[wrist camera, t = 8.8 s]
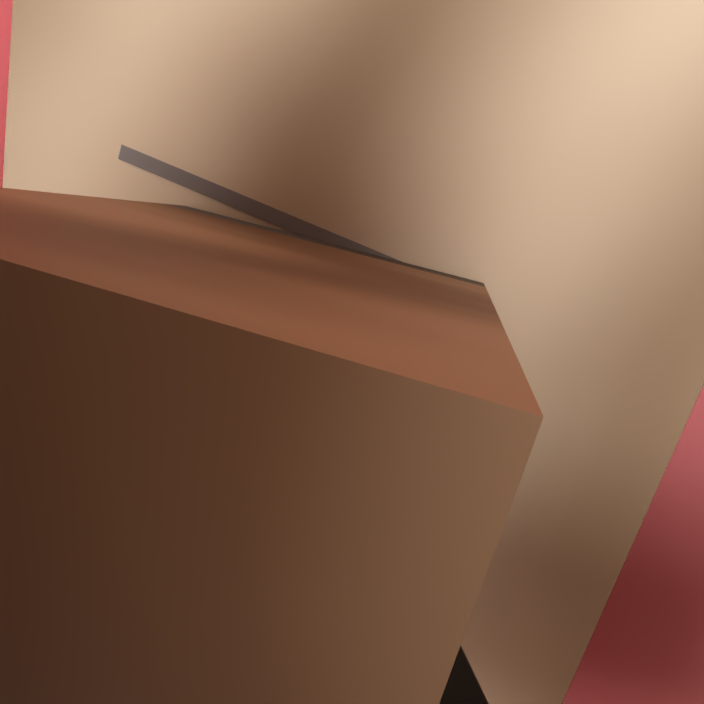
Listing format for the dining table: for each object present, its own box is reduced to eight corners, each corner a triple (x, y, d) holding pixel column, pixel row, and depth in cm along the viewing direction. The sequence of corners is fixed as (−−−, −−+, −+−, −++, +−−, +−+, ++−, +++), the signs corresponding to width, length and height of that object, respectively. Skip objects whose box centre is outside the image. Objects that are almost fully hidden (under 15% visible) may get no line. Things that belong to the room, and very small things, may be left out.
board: (1113, -662, 5) (1258, -861, 4) (490, 806, 11) (492, 861, 10) (111, -665, 7) (55, -808, 6) (12, 615, 13) (-25, 647, 12)
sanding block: (483, 282, 8) (543, 415, 2) (347, 725, 10) (204, 1348, 5) (185, 205, 9) (-376, 150, 3) (123, 636, 11) (-250, 1079, 5)
